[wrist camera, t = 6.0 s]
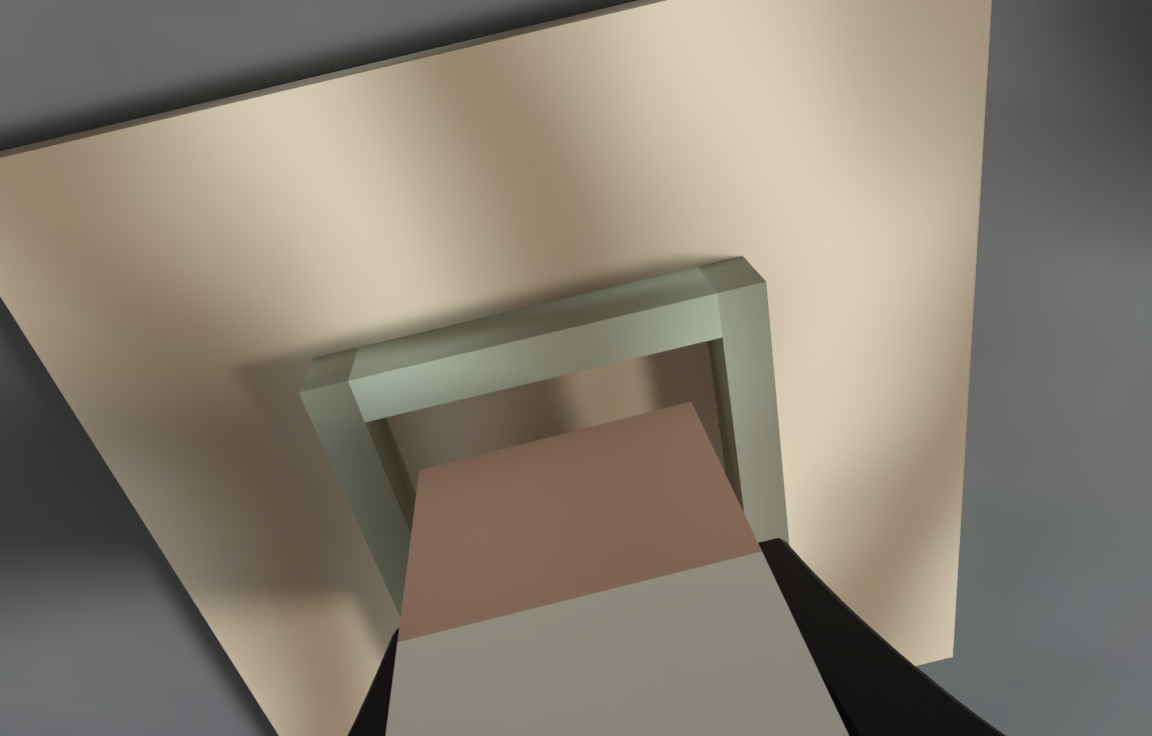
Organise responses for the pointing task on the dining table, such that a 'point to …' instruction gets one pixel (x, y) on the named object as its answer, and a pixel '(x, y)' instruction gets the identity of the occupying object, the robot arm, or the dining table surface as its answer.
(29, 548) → the dining table surface
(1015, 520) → the dining table surface
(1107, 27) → the dining table surface
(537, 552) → the white brown rectangular block
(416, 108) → the board
